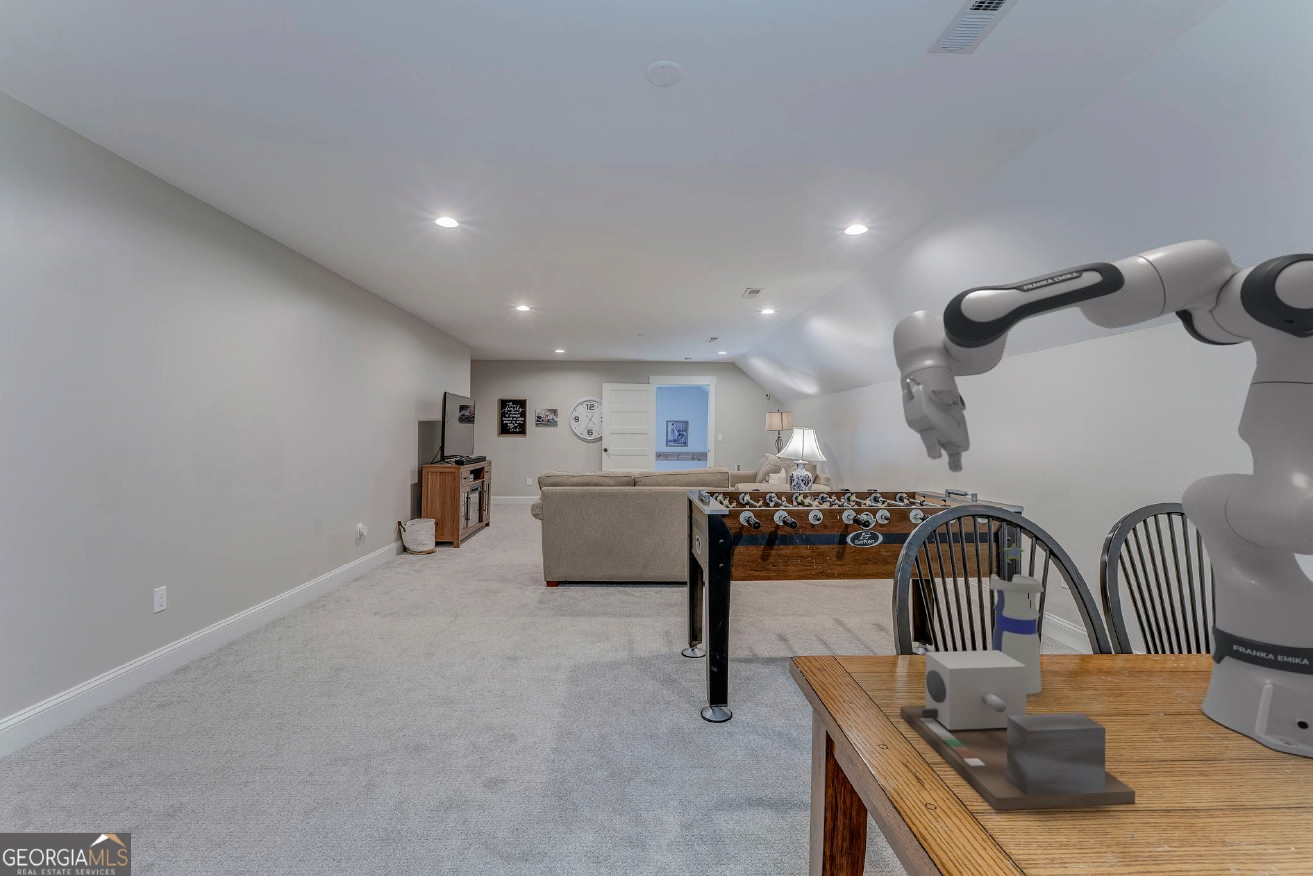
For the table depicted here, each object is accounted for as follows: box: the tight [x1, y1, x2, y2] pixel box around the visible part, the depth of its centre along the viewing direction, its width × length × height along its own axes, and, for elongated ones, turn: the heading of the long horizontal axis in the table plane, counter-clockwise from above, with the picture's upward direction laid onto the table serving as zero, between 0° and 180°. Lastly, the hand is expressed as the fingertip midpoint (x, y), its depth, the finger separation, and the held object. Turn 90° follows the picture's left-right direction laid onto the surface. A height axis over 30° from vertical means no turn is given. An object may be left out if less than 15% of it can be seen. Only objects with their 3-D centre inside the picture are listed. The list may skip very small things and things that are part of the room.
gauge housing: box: [922, 649, 1027, 730], centre depth 81 cm, size 8×14×9 cm, turn 94°
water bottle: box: [988, 543, 1045, 695], centre depth 99 cm, size 8×9×25 cm
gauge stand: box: [900, 705, 1136, 811], centre depth 77 cm, size 22×18×10 cm
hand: (946, 464), depth 93 cm, fingers open, 8 cm apart
